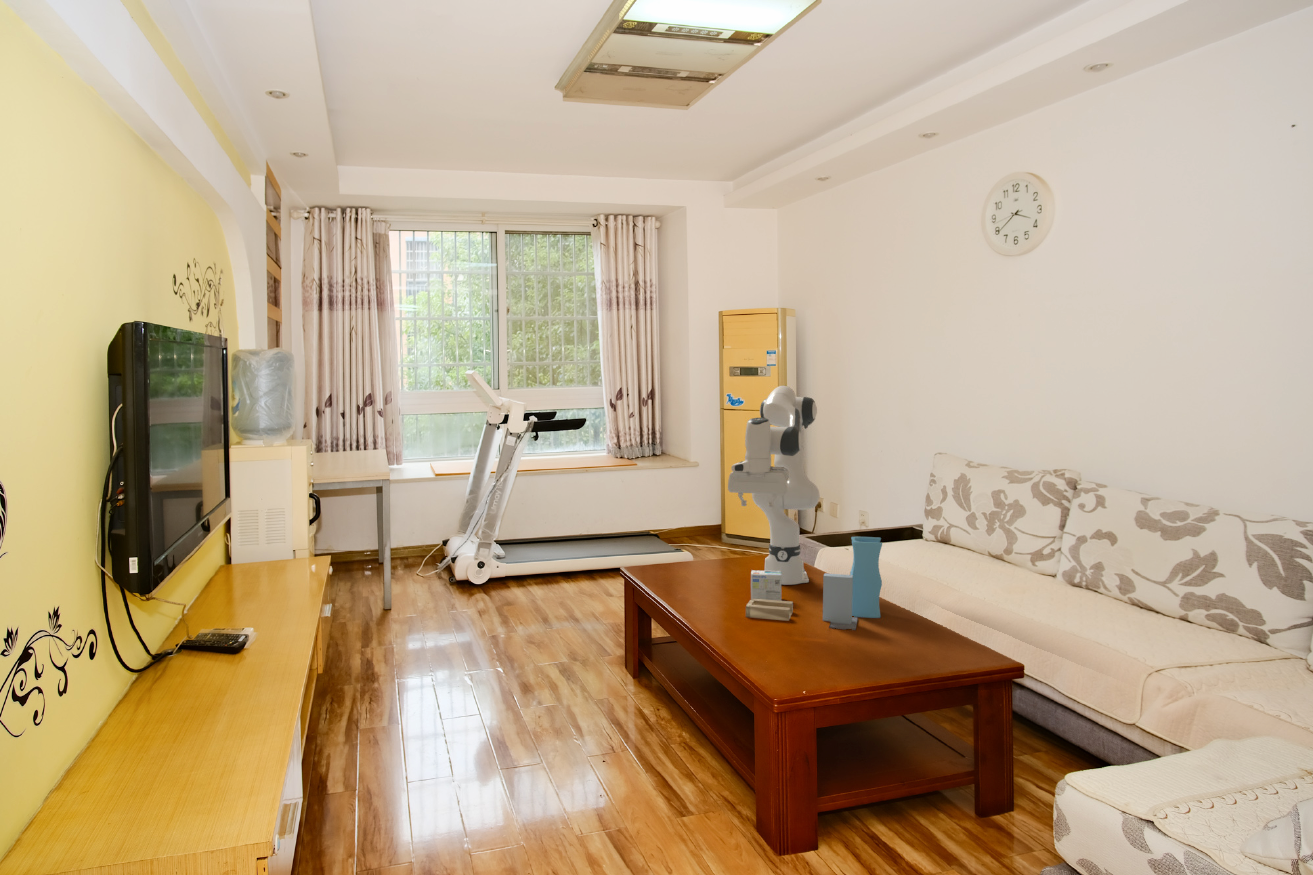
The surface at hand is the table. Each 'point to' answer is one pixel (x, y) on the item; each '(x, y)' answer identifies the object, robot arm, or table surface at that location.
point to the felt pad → (845, 625)
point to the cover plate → (837, 598)
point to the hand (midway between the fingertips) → (757, 506)
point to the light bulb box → (766, 585)
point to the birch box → (769, 609)
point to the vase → (866, 577)
